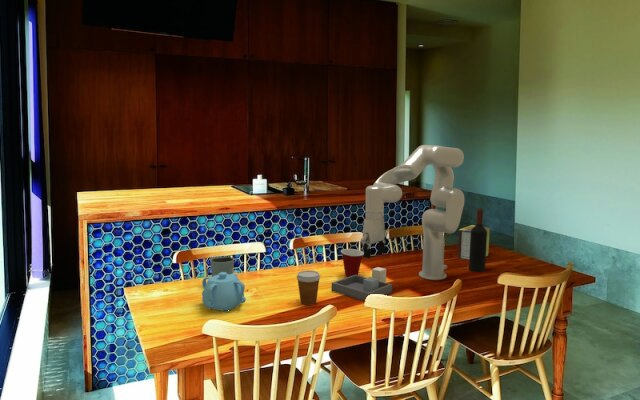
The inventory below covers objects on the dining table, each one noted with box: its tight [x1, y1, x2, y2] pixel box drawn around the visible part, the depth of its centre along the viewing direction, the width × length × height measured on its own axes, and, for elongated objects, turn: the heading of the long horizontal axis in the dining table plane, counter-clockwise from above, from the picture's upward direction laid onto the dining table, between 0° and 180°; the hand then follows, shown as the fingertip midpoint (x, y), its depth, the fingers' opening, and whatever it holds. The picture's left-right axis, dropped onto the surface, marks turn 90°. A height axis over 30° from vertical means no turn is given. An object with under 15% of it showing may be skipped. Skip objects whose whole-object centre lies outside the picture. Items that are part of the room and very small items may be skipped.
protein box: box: [457, 224, 491, 261], centre depth 279 cm, size 10×15×16 cm
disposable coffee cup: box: [296, 270, 321, 306], centre depth 210 cm, size 10×10×12 cm
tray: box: [331, 274, 393, 302], centre depth 224 cm, size 16×20×4 cm
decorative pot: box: [201, 272, 247, 312], centre depth 206 cm, size 16×16×14 cm
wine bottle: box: [468, 208, 487, 273], centre depth 254 cm, size 8×8×30 cm
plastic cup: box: [340, 248, 364, 278], centre depth 245 cm, size 11×11×12 cm
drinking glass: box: [209, 256, 235, 277], centre depth 231 cm, size 10×10×12 cm
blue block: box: [363, 276, 379, 292], centre depth 220 cm, size 4×4×6 cm
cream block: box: [371, 266, 387, 283], centre depth 237 cm, size 4×4×6 cm
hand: (374, 255), depth 223 cm, fingers open, 9 cm apart
